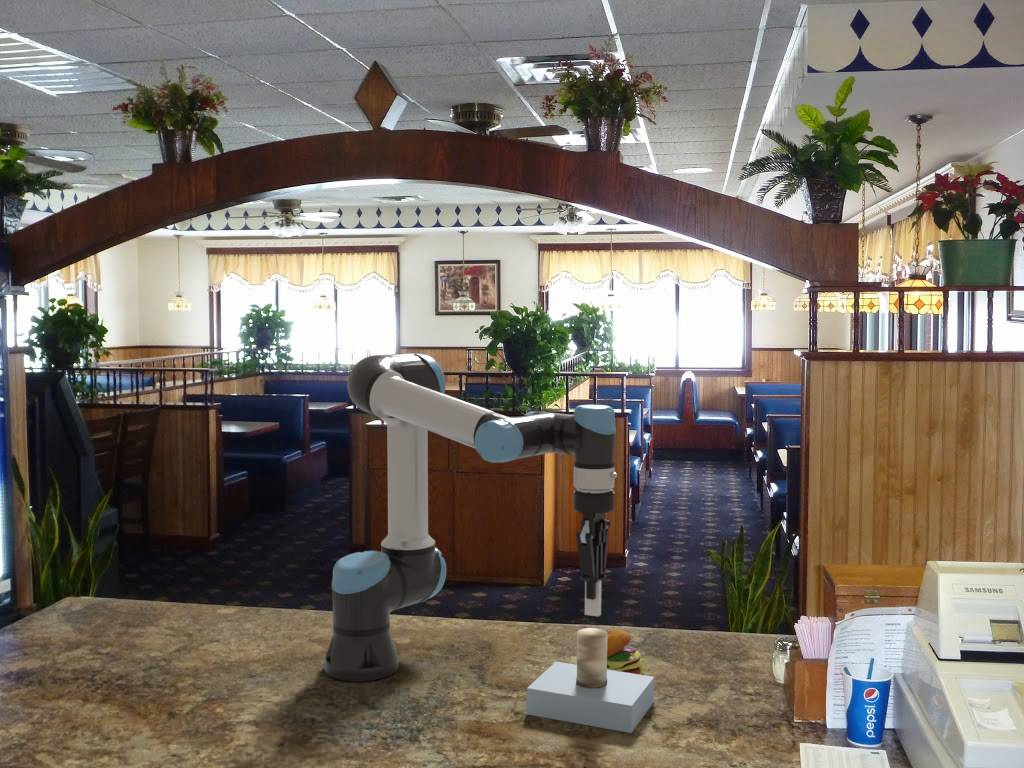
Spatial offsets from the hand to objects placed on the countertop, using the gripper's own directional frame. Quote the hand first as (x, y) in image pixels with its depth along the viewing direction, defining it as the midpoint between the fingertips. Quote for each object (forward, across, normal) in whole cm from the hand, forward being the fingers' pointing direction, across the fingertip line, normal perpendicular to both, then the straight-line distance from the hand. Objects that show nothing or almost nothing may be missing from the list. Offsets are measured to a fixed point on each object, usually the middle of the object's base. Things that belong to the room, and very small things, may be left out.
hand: (592, 614), depth 188 cm
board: (+18, 0, 0) cm, 18 cm away
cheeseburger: (+18, +19, +1) cm, 27 cm away
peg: (+18, 0, 0) cm, 18 cm away
